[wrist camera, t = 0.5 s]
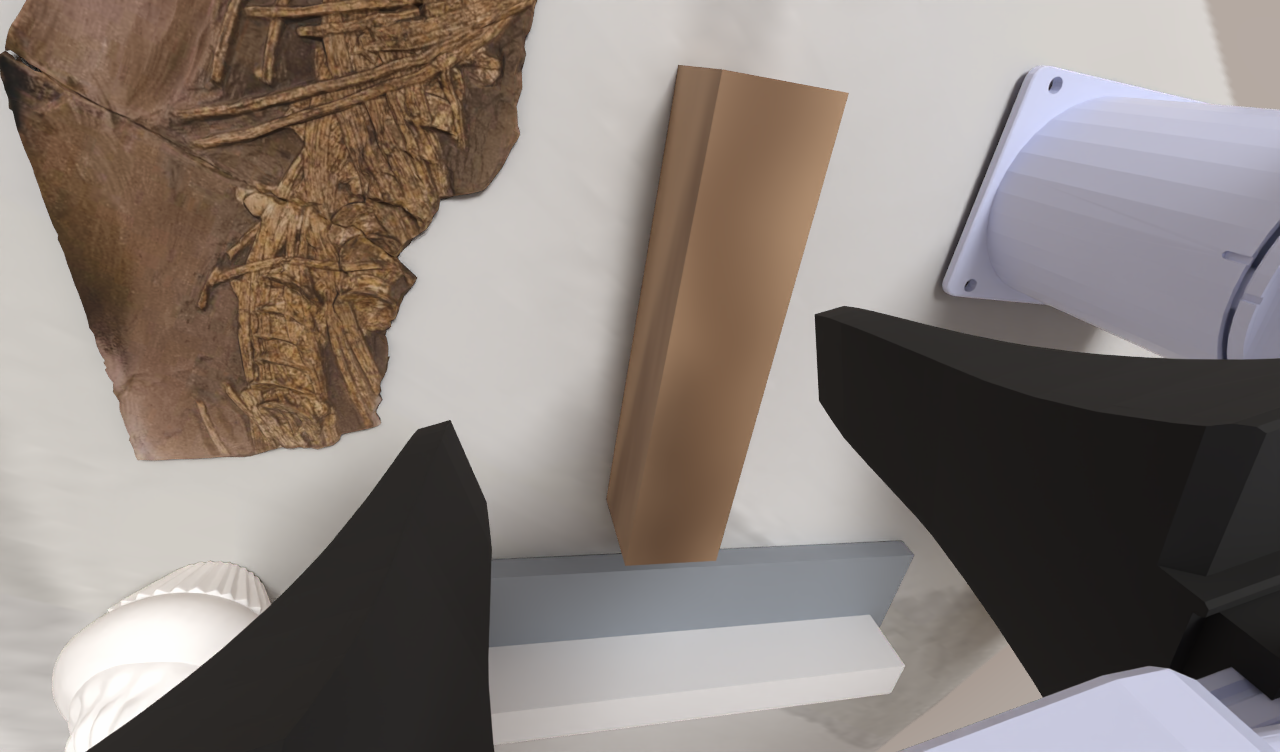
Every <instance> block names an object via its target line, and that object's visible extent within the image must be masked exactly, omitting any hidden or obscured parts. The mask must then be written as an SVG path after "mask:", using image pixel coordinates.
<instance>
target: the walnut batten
mask: <svg viewBox="0 0 1280 752" xmlns="http://www.w3.org/2000/svg"><path fill="white" fill-rule="evenodd" d="M848 94H849V93H845V92H840V91H835V90H829V89H824V88H818V87H813V86H808V85H802V84H797V83H792V82H786V81H781V80H775V79H770V78H765V77H759V76H754V75H749V74H743V73H738V72H733V71H727V70H721V69H712V68H702V67H692V66H683V65H678V71H677V77H676V83H675V89H674V95H673V101H672V107H671V113H670V119H669V125H668V131H667V137H666V143H665V149H664V155H663V161H662V167H661V173H660V179H659V185H658V191H657V197H656V203H655V209H654V215H653V221H652V227H651V233H650V239H649V245H648V251H647V257H646V263H645V269H644V275H643V281H642V287H641V293H640V299H639V305H638V311H637V317H636V324H635V330H634V336H633V342H632V348H631V354H630V360H629V366H628V372H627V378H626V384H625V390H624V396H623V402H622V408H621V414H620V420H619V426H618V432H617V438H616V444H615V450H614V456H613V462H612V468H611V474H610V480H609V486H608V492H607V498H606V500H607V503H608V507H609V510H610V514H611V517H612V521H613V524H614V528H615V532H616V535H617V539H618V542H619V546H620V549H621V553H622V556H623V560H624V563H625V566H632V565H650V564H668V563H686V562H704V561H716V559H717V556H718V552H719V549H720V545H721V542H722V538H723V535H724V531H725V528H726V524H727V521H728V517H729V513H730V510H731V506H732V503H733V499H734V496H735V492H736V489H737V485H738V482H739V478H740V475H741V471H742V468H743V464H744V461H745V457H746V454H747V450H748V446H749V443H750V439H751V436H752V432H753V429H754V425H755V422H756V418H757V415H758V411H759V408H760V404H761V401H762V397H763V394H764V390H765V387H766V383H767V379H768V376H769V372H770V369H771V365H772V362H773V358H774V355H775V351H776V348H777V344H778V341H779V337H780V334H781V330H782V327H783V323H784V319H785V316H786V312H787V309H788V305H789V302H790V298H791V295H792V291H793V288H794V284H795V281H796V277H797V274H798V270H799V267H800V263H801V260H802V256H803V252H804V249H805V245H806V242H807V238H808V235H809V231H810V228H811V224H812V221H813V217H814V214H815V210H816V207H817V203H818V200H819V196H820V192H821V189H822V185H823V182H824V178H825V175H826V171H827V168H828V164H829V161H830V157H831V154H832V150H833V147H834V143H835V140H836V136H837V133H838V129H839V125H840V122H841V118H842V115H843V111H844V108H845V104H846V101H847V97H848Z"/></svg>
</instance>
